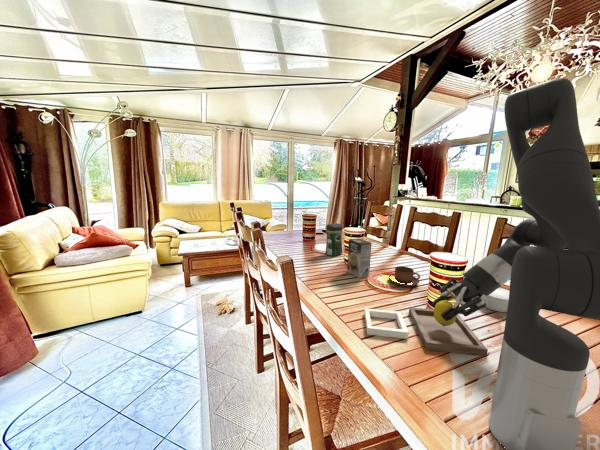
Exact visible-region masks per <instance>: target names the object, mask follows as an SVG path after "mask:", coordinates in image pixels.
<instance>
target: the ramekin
mask: <svg viewBox="0 0 600 450" xmlns="http://www.w3.org/2000/svg"><path fill="white" fill-rule="evenodd" d="M509 291H510V289H506V288H504V287H503V288H502V287H499V288H498V289H496V290H495V291H494V292H492V293H491V294H490V295H488V296H486V295H484V294H483V295H482V297H481V299H482V300H483V301H484V302H485V303H486V306H485V307H484V308H487V309H488V310H489V309H490V310H492V311H495V312H499V313H507V308H508V301H509Z"/></svg>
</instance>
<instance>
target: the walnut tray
mask: <svg viewBox="0 0 600 450" xmlns="http://www.w3.org/2000/svg"><path fill="white" fill-rule="evenodd" d="M408 314H409V317H410V319H411V320H412V323H413V325H414V326H415V327H414V328H415V329H416V331H417V334H418V335H419V338H420V339H421V342H422V344H423V346H424V348H425V350H429V351H437V352H445V353H451V354H452V353H453V354H454V353H455V354H460V355H462V354H463V355H469V356H477V357H478V356H479V357H488V351H489V349H488V348H487V347H486V345H485V344H484V343H483V342H482V341H481V340H480V339H479V337H478V335H476V334H475V332H474V331H473V330H472V329H471V327H470V326H469V325H468V324H467V323H466V322H465V320H464V319H463V317H461V316H460V314H457V315H456V320H455V322H454V323H453V324H452V325H449V326H442V325H441V324H439V323H438V322H437V321H436V319H435V317H434V308H433V309H430V308H421V307H411V306H409V307H408Z"/></svg>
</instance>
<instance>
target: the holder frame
mask: <svg viewBox="0 0 600 450" xmlns="http://www.w3.org/2000/svg"><path fill="white" fill-rule="evenodd" d="M371 317H372V318H381V319H389V320H390V319H391V320H396V322H397V324H398V326H399V328H393V327H384V326H375V325H372V319H371ZM364 318H365V328H366V334H367V335H369V336H370V335H371V336H378V337H387V338H395V339H396V338H397V339H404V340H409V333H410V331H409V330H408V327H407V324H406V323H405V320H404V317H403V315H402V312H401V311H396V310H395V311H394V310H384V309H376V308H366V307H365V308H364Z"/></svg>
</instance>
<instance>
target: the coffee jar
mask: <svg viewBox="0 0 600 450" xmlns="http://www.w3.org/2000/svg"><path fill="white" fill-rule="evenodd" d="M325 227H326V228H325V232H326V245H325V254H326V255H327V256H328V257H329V256H330V257H331V256H332V257H336V256H340V255H342V254H343V243H342V235H343V224H341V223H339V222H337V223H336V222H335V223H329V224H327V225H326V226H325Z"/></svg>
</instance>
